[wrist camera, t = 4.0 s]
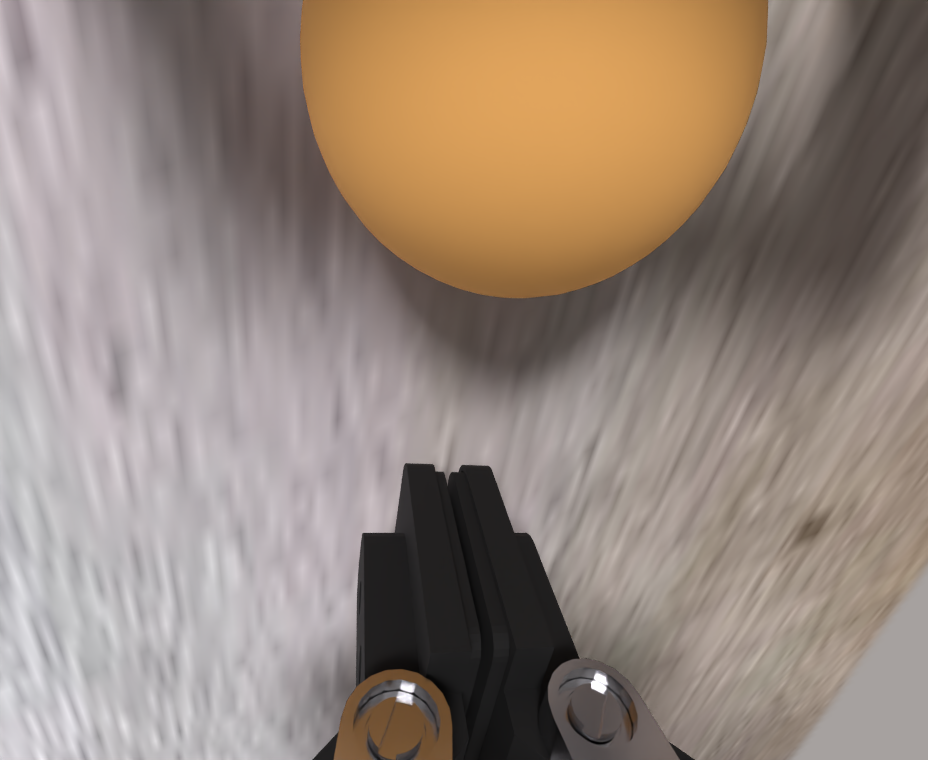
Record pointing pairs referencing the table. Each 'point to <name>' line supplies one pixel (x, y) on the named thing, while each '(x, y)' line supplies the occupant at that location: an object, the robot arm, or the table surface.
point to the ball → (528, 127)
